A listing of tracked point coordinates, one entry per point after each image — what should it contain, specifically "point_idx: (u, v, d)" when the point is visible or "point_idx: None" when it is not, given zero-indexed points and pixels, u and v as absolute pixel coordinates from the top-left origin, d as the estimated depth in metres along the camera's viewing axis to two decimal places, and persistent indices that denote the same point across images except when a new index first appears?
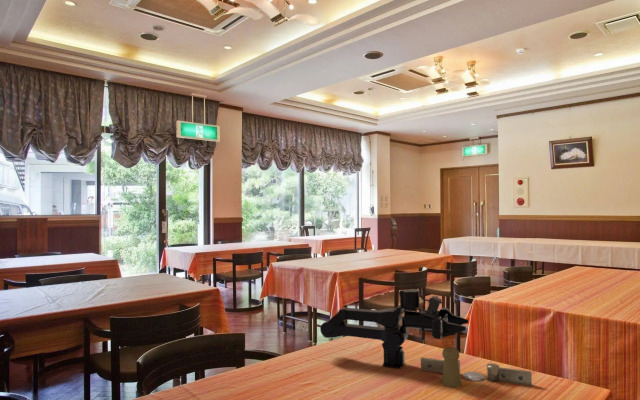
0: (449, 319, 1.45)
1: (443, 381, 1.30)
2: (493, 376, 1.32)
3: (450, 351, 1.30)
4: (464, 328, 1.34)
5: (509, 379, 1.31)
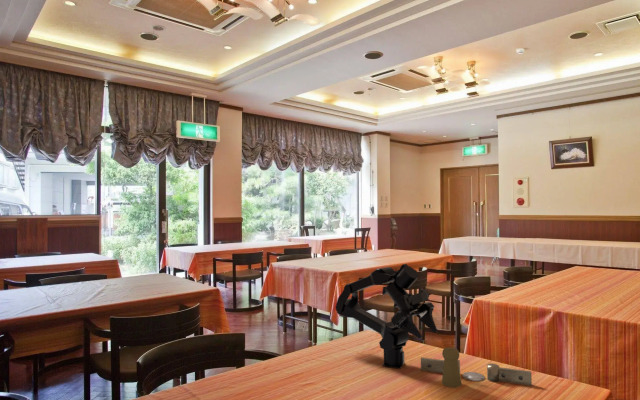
0: (425, 316, 1.44)
1: (443, 381, 1.30)
2: (493, 376, 1.32)
3: (450, 351, 1.30)
4: (419, 336, 1.34)
5: (509, 379, 1.31)
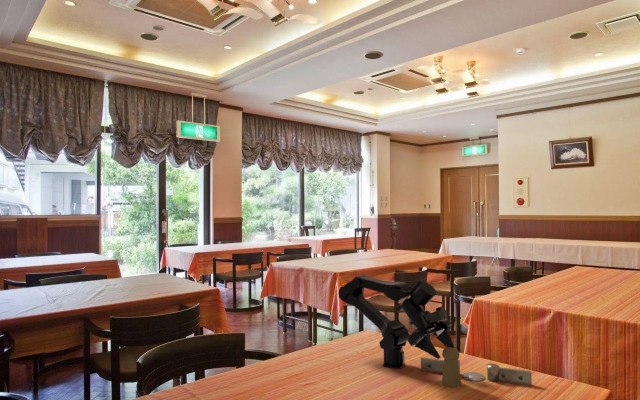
0: (442, 334, 1.39)
1: (443, 381, 1.30)
2: (493, 376, 1.32)
3: (450, 351, 1.30)
4: (438, 357, 1.29)
5: (509, 379, 1.31)
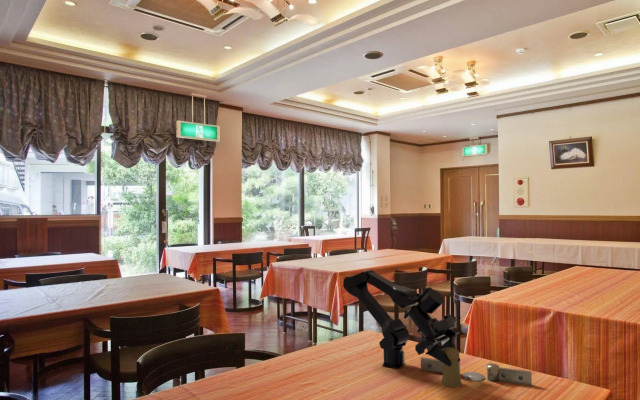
0: (447, 344, 1.36)
1: (443, 381, 1.30)
2: (493, 376, 1.32)
3: (450, 350, 1.30)
4: (449, 364, 1.28)
5: (509, 379, 1.31)
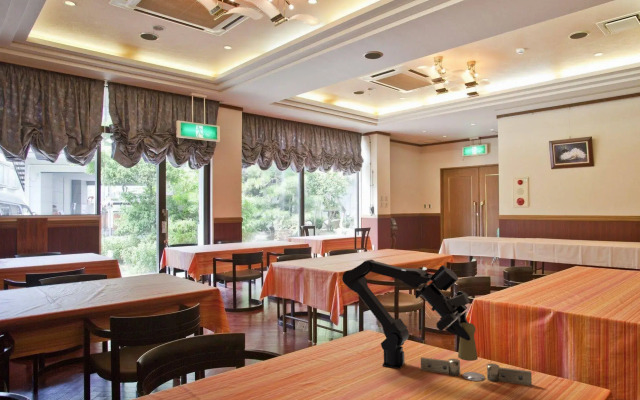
0: (459, 320, 1.39)
1: (461, 356, 1.33)
2: (493, 376, 1.32)
3: (468, 325, 1.33)
4: (468, 338, 1.31)
5: (509, 379, 1.31)
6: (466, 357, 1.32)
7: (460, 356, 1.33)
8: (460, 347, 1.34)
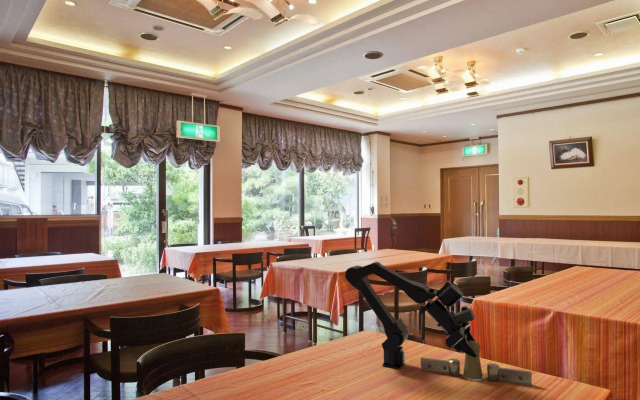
0: (464, 334, 1.42)
1: (467, 374, 1.34)
2: (493, 376, 1.32)
3: (474, 344, 1.35)
4: (475, 355, 1.32)
5: (509, 379, 1.31)
6: (472, 376, 1.33)
7: (466, 375, 1.35)
8: (466, 366, 1.35)
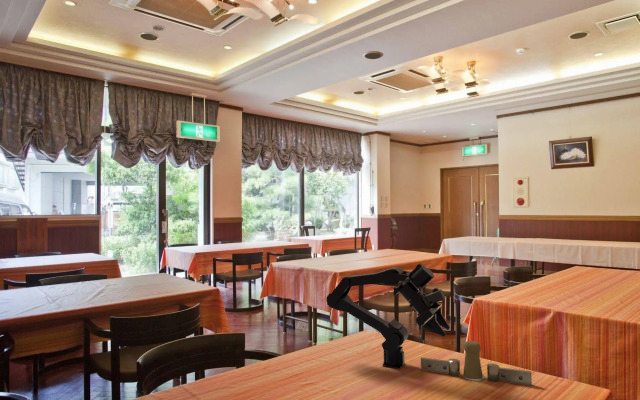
0: (436, 314, 1.47)
1: (467, 374, 1.34)
2: (493, 376, 1.32)
3: (474, 344, 1.35)
4: (444, 334, 1.36)
5: (509, 379, 1.31)
6: (472, 376, 1.33)
7: (466, 375, 1.35)
8: (466, 366, 1.35)
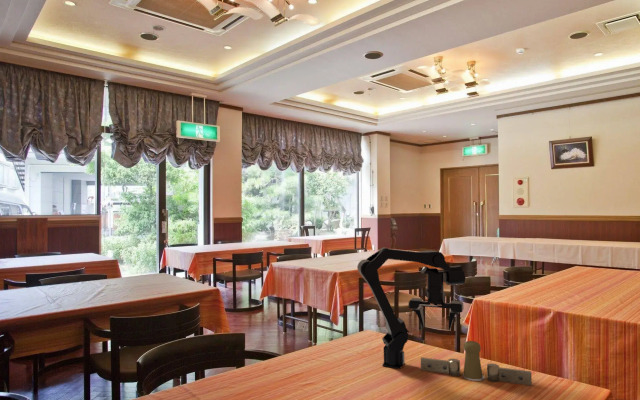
0: (421, 310, 1.52)
1: (467, 374, 1.34)
2: (493, 376, 1.32)
3: (474, 344, 1.35)
4: None
5: (509, 379, 1.31)
6: (472, 376, 1.33)
7: (466, 375, 1.35)
8: (466, 366, 1.35)
